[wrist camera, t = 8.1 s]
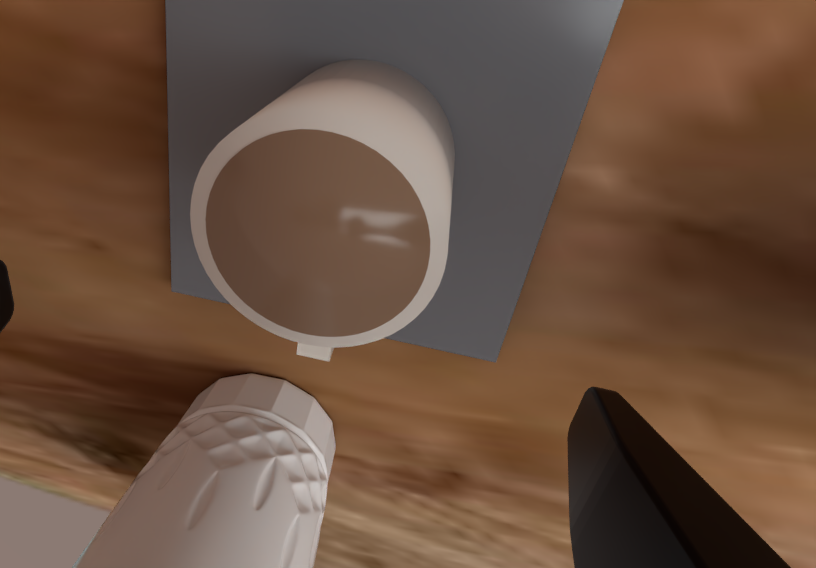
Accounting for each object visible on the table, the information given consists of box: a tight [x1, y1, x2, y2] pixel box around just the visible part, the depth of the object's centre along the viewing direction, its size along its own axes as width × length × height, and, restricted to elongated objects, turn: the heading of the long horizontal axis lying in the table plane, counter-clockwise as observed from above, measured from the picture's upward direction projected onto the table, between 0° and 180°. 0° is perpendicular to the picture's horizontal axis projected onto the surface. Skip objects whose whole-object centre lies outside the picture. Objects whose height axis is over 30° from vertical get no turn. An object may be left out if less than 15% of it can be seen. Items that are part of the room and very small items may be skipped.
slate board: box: [165, 0, 624, 362], centre depth 19 cm, size 13×14×1 cm
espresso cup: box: [190, 60, 455, 361], centre depth 16 cm, size 6×8×7 cm
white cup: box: [72, 373, 336, 568], centre depth 22 cm, size 8×8×10 cm
